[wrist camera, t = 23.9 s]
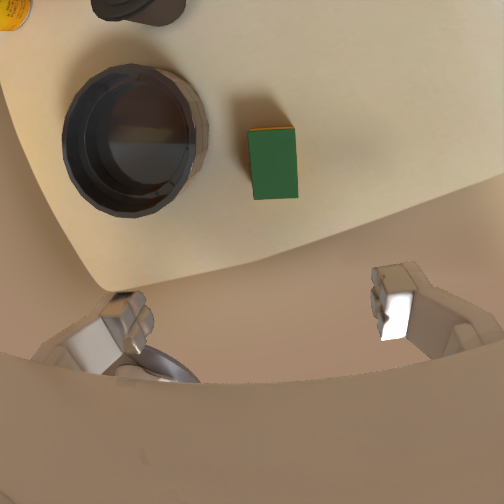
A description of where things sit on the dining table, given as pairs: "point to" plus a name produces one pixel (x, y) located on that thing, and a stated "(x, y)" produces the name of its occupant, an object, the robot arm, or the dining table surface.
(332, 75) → the dining table surface
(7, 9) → the beer can
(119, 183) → the bowl
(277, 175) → the sponge
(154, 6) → the coffee cup
